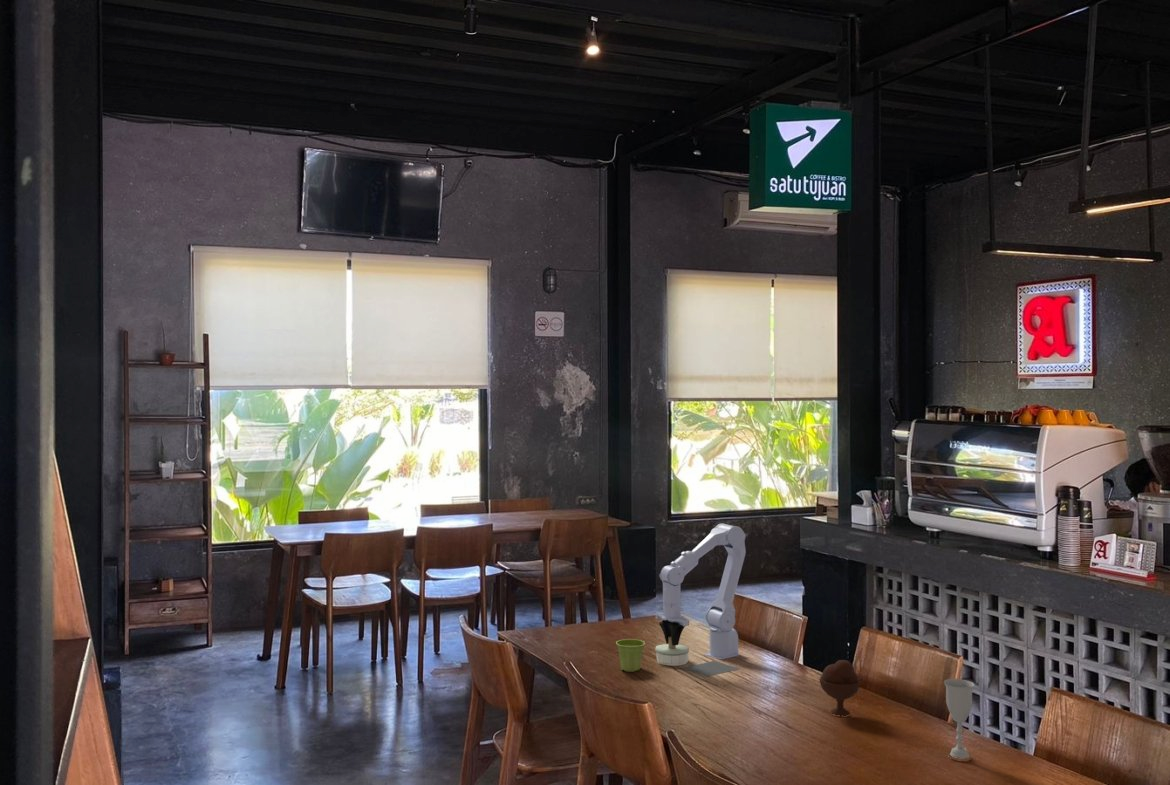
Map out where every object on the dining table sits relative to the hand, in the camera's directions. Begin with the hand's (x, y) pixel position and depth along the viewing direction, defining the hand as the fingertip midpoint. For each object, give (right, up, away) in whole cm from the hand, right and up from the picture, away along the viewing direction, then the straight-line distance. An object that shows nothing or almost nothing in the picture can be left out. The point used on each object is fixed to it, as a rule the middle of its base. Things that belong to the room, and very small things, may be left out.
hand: (672, 644), depth 326 cm
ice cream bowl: (+41, -6, -54) cm, 68 cm away
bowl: (0, -6, 0) cm, 6 cm away
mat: (+12, -6, -9) cm, 16 cm away
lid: (0, -2, 0) cm, 2 cm away
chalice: (+61, -5, -88) cm, 107 cm away
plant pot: (-14, -6, -8) cm, 17 cm away
